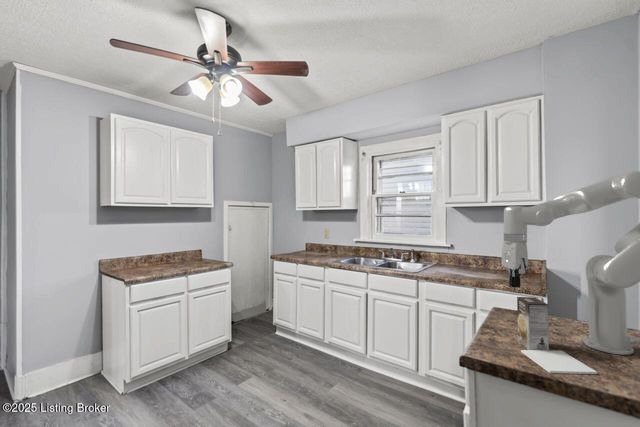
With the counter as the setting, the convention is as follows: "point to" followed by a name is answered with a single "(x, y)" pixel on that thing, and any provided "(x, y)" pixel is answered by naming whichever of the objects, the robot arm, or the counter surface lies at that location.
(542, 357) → the mat
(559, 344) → the counter surface
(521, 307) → the coffee box
